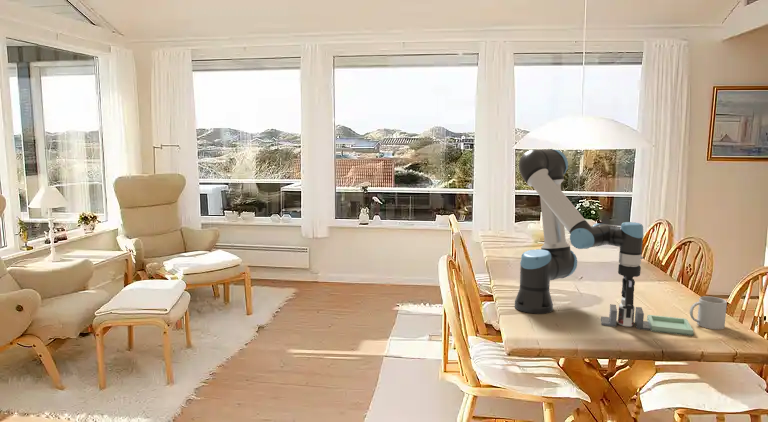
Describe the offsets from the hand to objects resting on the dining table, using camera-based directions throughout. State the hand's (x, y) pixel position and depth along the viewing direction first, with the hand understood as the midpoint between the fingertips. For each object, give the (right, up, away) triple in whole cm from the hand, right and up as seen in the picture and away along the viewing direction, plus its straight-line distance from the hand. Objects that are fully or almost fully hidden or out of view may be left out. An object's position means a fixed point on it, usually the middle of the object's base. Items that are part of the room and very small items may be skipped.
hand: (625, 319), depth 208 cm
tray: (+15, -2, -3) cm, 15 cm away
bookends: (0, -2, 0) cm, 2 cm away
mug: (+31, -2, 0) cm, 31 cm away
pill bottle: (0, -2, 0) cm, 2 cm away
